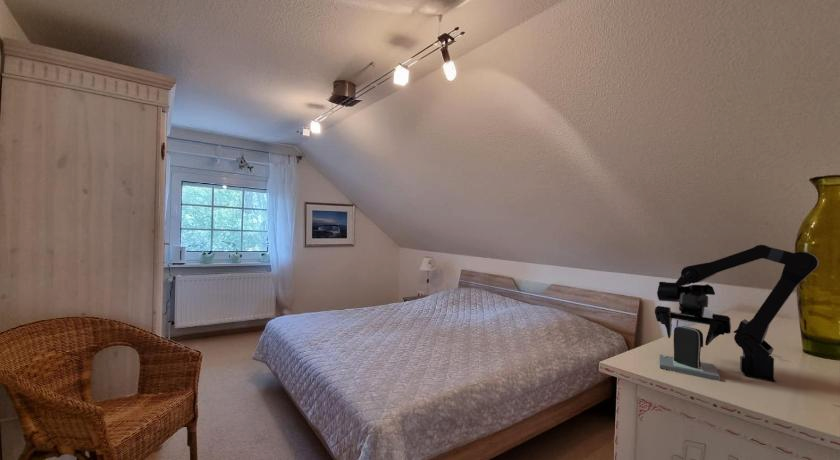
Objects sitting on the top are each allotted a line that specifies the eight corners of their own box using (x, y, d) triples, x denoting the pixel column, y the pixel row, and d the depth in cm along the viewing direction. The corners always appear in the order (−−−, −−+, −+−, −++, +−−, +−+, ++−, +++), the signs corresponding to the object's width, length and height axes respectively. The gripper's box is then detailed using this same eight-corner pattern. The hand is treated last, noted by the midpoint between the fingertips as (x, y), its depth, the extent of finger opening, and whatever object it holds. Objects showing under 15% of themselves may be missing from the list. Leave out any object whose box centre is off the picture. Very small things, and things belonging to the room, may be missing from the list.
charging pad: (714, 368, 107) (714, 364, 107) (719, 380, 97) (719, 375, 97) (659, 358, 115) (659, 353, 115) (659, 368, 105) (659, 363, 105)
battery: (704, 367, 104) (705, 329, 104) (697, 369, 102) (698, 330, 102) (679, 359, 110) (680, 324, 110) (672, 361, 108) (673, 325, 109)
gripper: (656, 281, 116) (646, 318, 108) (730, 289, 103) (725, 332, 95) (661, 302, 121) (652, 339, 114) (732, 312, 108) (728, 354, 100)
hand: (686, 340), depth 105 cm, fingers open, 9 cm apart
